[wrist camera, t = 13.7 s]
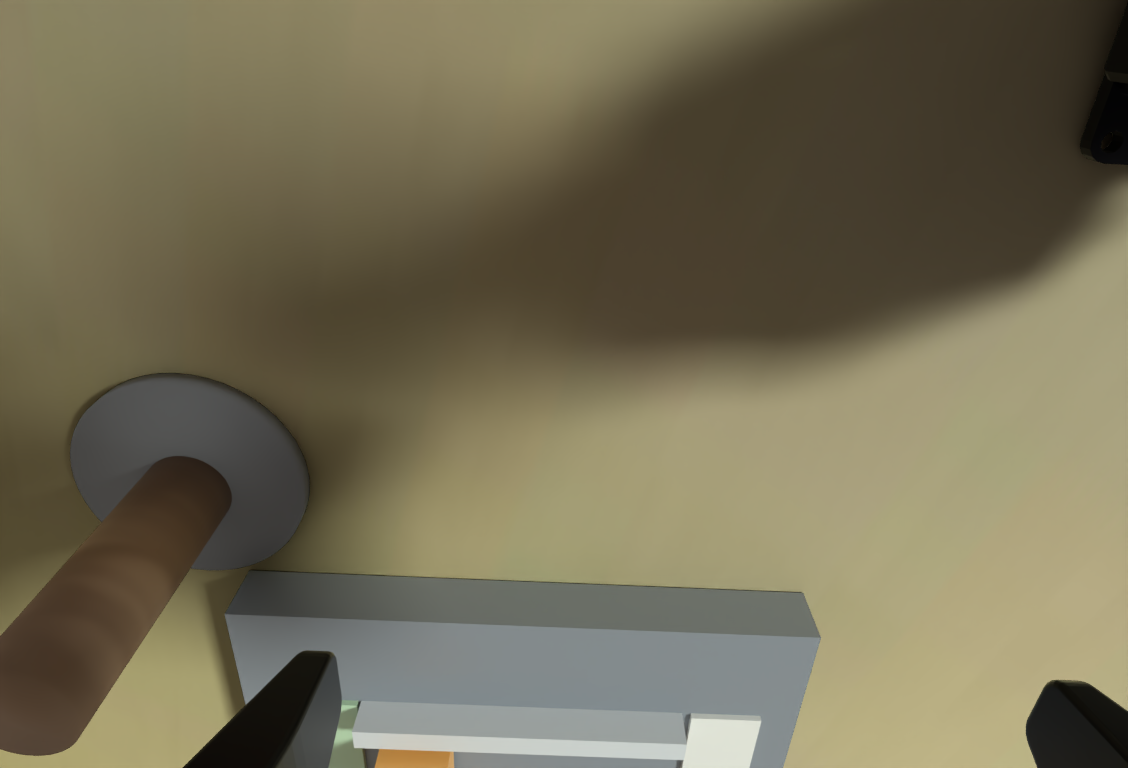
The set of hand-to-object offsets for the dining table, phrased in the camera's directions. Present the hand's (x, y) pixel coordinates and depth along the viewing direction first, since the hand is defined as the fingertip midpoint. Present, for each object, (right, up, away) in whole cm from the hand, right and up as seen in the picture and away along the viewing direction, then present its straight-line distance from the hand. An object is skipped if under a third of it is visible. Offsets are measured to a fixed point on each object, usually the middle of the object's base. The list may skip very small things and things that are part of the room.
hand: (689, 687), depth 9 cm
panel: (-3, -9, +19) cm, 21 cm away
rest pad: (-13, +1, +14) cm, 19 cm away
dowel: (-13, +1, +13) cm, 19 cm away
